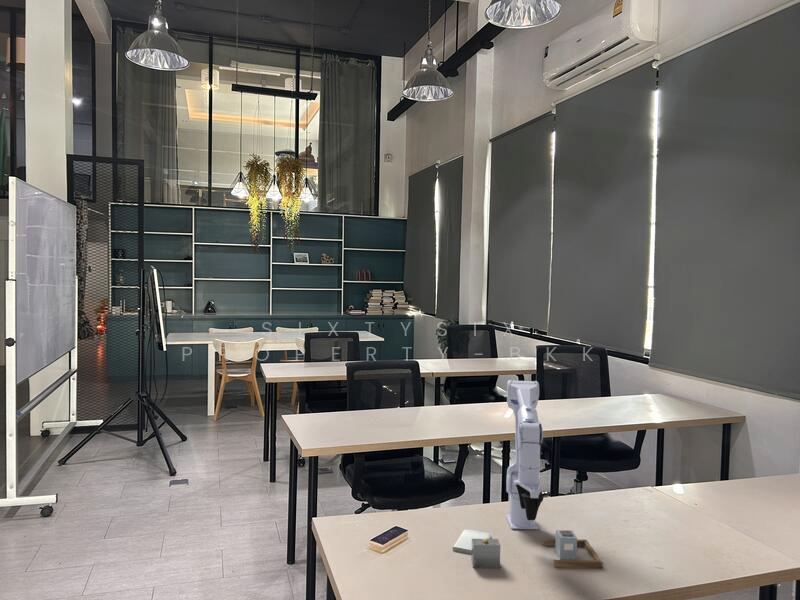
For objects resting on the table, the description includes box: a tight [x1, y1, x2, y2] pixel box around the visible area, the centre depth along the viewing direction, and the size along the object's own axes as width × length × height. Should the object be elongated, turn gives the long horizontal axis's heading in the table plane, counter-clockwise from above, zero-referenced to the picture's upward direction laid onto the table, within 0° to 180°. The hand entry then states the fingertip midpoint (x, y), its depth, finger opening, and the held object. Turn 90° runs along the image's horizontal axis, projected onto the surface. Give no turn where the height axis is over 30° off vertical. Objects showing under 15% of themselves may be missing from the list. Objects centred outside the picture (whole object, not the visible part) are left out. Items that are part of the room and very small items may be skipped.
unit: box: [470, 538, 501, 569], centre depth 149 cm, size 4×7×7 cm, turn 90°
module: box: [554, 529, 578, 560], centre depth 154 cm, size 5×4×6 cm
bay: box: [541, 538, 604, 569], centre depth 154 cm, size 13×12×2 cm
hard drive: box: [452, 529, 492, 555], centre depth 161 cm, size 2×8×12 cm
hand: (528, 513), depth 158 cm, fingers open, 7 cm apart
